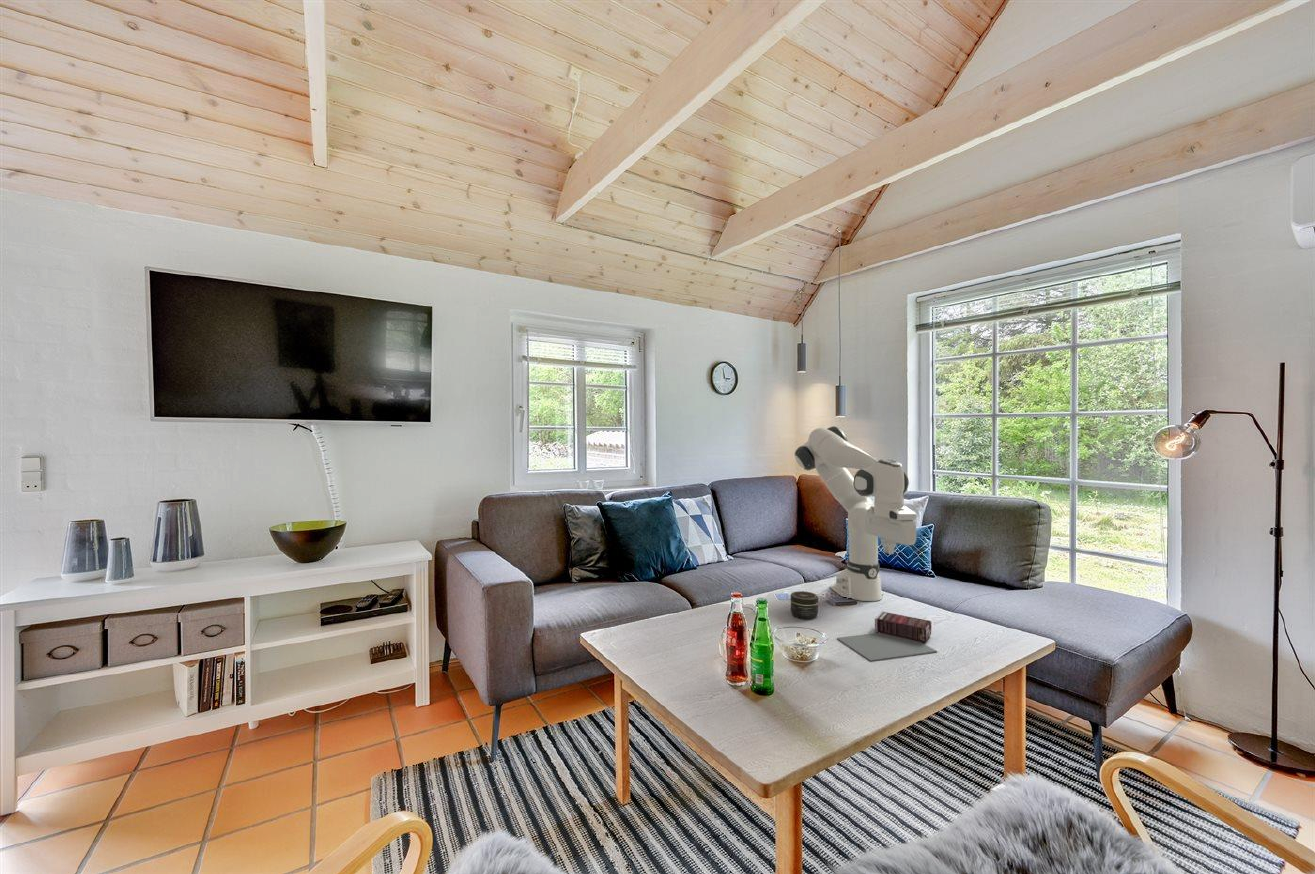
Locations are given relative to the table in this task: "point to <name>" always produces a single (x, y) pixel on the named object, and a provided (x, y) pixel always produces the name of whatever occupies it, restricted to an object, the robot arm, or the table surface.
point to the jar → (804, 605)
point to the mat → (885, 646)
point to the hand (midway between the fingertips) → (888, 553)
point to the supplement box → (903, 626)
